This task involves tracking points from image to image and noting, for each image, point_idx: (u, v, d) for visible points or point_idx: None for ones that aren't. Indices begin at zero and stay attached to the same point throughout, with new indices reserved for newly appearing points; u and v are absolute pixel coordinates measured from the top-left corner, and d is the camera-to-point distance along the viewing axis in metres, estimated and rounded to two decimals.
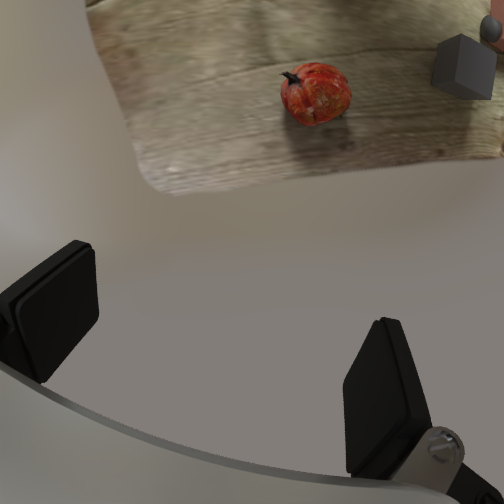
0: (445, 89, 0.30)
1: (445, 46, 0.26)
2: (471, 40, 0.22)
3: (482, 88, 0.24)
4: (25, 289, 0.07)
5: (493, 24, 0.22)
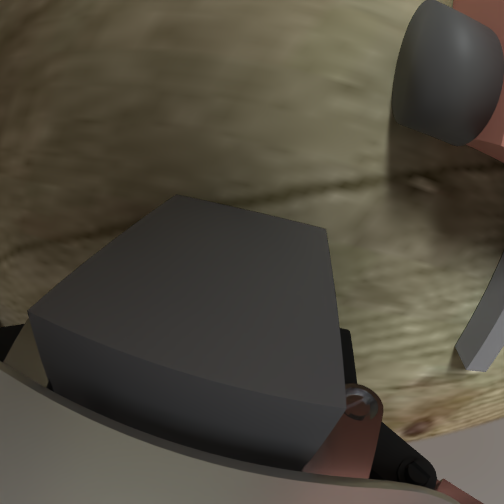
0: None
1: None
2: (94, 348, 0.04)
3: None
4: None
5: (448, 52, 0.04)
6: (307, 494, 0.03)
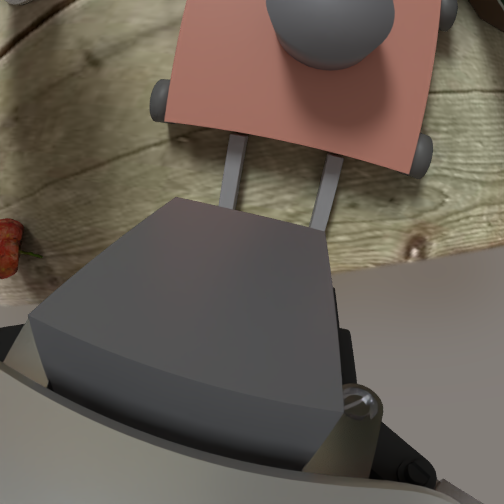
0: None
1: None
2: (95, 353, 0.04)
3: None
4: None
5: (151, 100, 0.22)
6: (307, 494, 0.03)
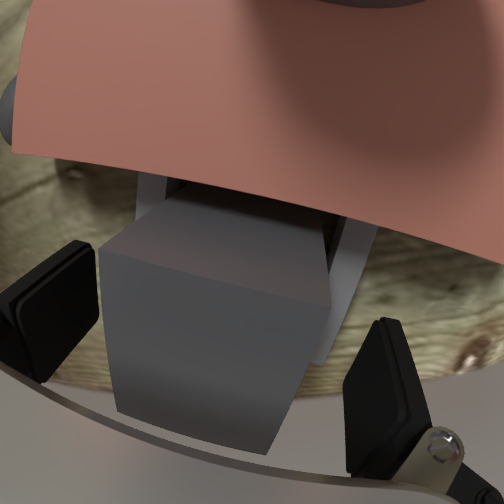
0: None
1: None
2: (153, 270, 0.06)
3: (226, 434, 0.08)
4: (25, 289, 0.07)
5: (0, 113, 0.09)
6: (307, 494, 0.03)
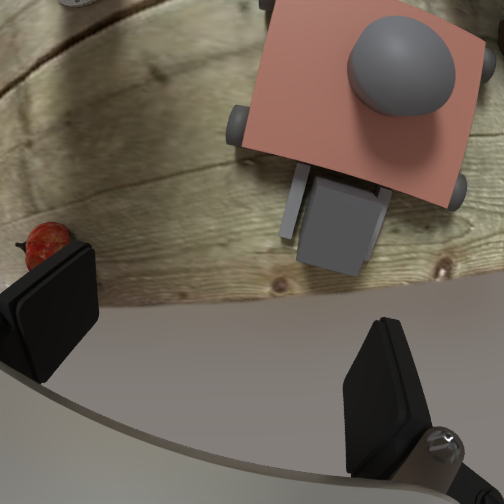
0: None
1: (313, 186, 0.26)
2: (335, 193, 0.22)
3: (344, 263, 0.24)
4: (25, 289, 0.07)
5: (229, 125, 0.25)
6: (307, 494, 0.03)
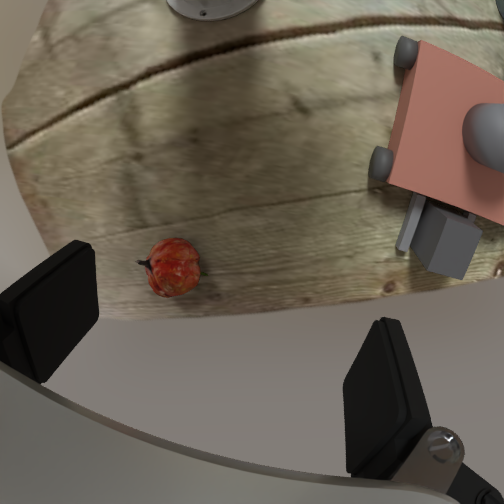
0: None
1: (430, 213, 0.32)
2: (457, 223, 0.28)
3: (455, 271, 0.30)
4: (25, 289, 0.07)
5: (378, 165, 0.30)
6: (307, 494, 0.03)
